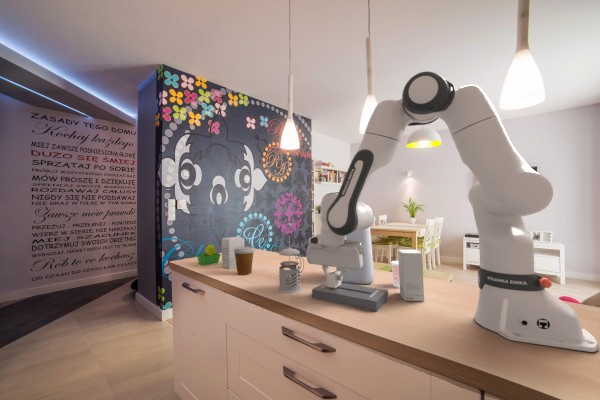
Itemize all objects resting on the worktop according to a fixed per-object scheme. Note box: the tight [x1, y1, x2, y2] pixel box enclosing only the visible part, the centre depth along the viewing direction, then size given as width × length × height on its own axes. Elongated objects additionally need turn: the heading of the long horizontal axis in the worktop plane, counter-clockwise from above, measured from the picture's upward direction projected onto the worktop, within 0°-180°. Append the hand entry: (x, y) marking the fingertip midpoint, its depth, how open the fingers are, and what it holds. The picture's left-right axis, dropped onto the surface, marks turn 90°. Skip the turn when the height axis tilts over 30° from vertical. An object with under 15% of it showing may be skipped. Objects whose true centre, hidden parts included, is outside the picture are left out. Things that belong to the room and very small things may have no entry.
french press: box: [276, 222, 305, 294], centre depth 101 cm, size 10×12×25 cm
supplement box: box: [221, 236, 246, 270], centre depth 138 cm, size 9×9×15 cm
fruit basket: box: [196, 243, 222, 266], centre depth 146 cm, size 11×9×11 cm
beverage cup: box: [390, 248, 401, 289], centre depth 102 cm, size 6×6×14 cm
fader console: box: [311, 280, 389, 313], centre depth 89 cm, size 22×12×3 cm, turn 57°
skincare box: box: [397, 249, 425, 302], centre depth 89 cm, size 8×7×16 cm
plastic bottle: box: [335, 226, 375, 285], centre depth 112 cm, size 15×15×28 cm
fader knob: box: [326, 270, 342, 288], centre depth 92 cm, size 3×5×5 cm, turn 147°
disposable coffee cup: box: [234, 245, 255, 276], centre depth 124 cm, size 10×10×12 cm
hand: (334, 279), depth 92 cm, fingers closed on fader knob, 3 cm apart
